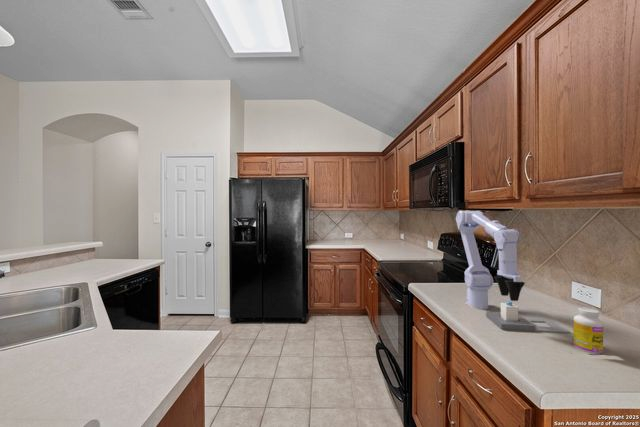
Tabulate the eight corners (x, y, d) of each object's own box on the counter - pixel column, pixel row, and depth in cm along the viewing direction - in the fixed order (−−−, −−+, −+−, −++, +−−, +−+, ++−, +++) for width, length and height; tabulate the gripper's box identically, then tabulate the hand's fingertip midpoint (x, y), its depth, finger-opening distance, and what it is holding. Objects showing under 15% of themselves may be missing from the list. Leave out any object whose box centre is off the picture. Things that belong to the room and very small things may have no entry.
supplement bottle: (593, 357, 81) (593, 314, 81) (567, 347, 88) (568, 306, 87) (608, 354, 83) (609, 312, 83) (582, 344, 89) (583, 304, 89)
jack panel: (486, 318, 110) (486, 311, 110) (546, 321, 107) (546, 314, 107) (501, 332, 98) (501, 323, 98) (570, 336, 95) (570, 327, 95)
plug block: (500, 320, 105) (500, 300, 105) (511, 321, 105) (512, 300, 105) (506, 325, 101) (506, 303, 101) (517, 325, 101) (518, 304, 101)
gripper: (530, 264, 96) (532, 303, 95) (510, 259, 110) (512, 293, 109) (507, 263, 97) (509, 302, 96) (491, 259, 111) (492, 293, 110)
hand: (509, 297), depth 103 cm, fingers open, 7 cm apart
